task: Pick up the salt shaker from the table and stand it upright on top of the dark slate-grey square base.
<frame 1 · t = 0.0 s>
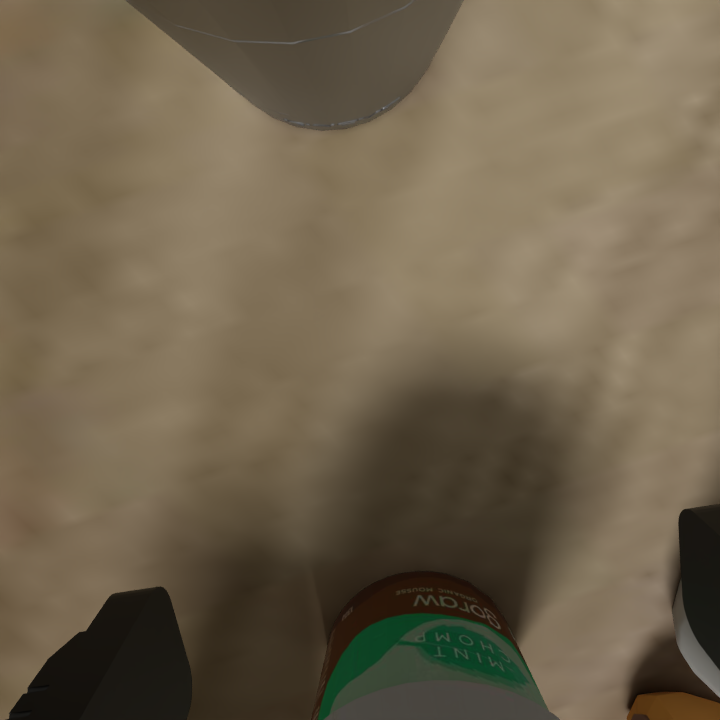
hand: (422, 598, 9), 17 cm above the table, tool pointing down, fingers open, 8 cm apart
food container: (426, 601, 30), on the table
salt shaker: (712, 595, 29), on the table
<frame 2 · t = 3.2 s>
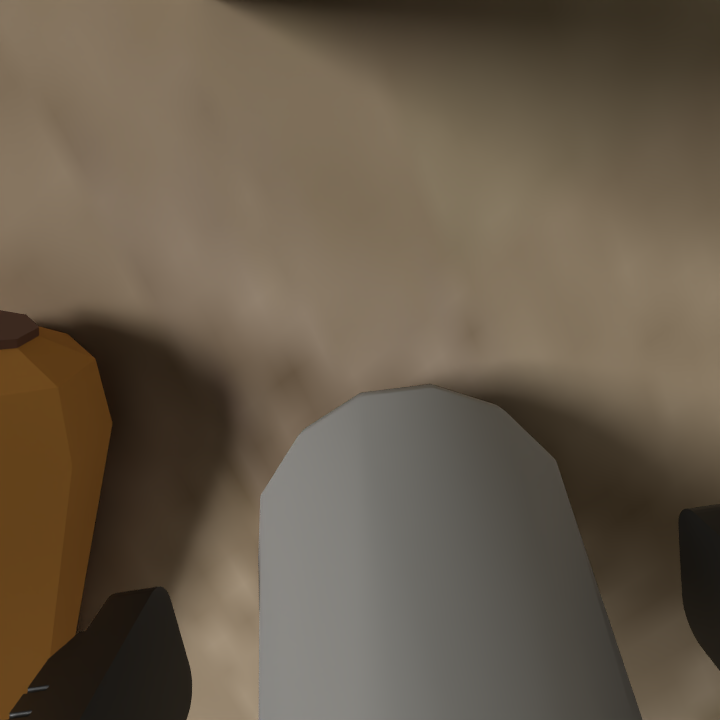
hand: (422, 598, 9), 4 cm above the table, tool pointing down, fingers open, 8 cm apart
salt shaker: (406, 478, 13), on the table
carrot: (15, 678, 15), on the table
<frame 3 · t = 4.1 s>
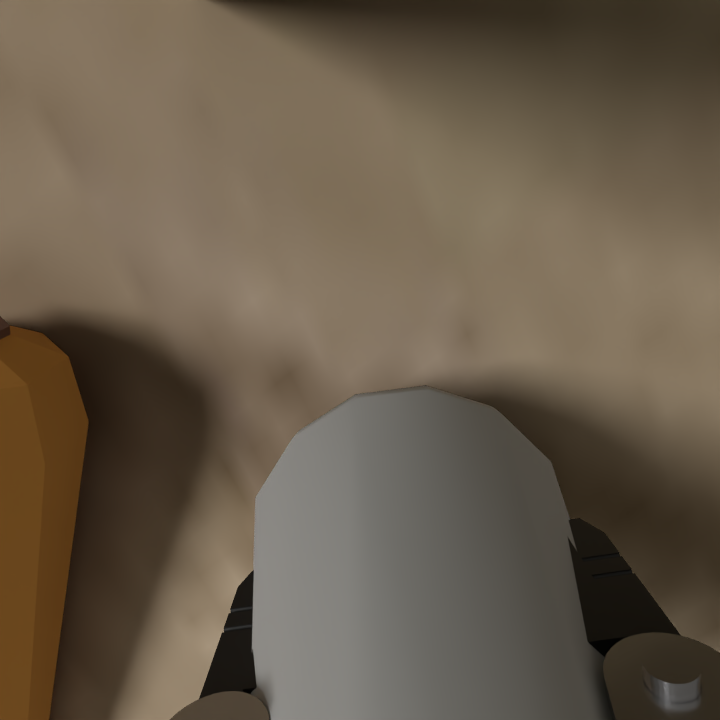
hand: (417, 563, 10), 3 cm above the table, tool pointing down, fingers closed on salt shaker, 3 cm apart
salt shaker: (402, 480, 13), on the table, touching gripper
carrot: (4, 681, 15), on the table
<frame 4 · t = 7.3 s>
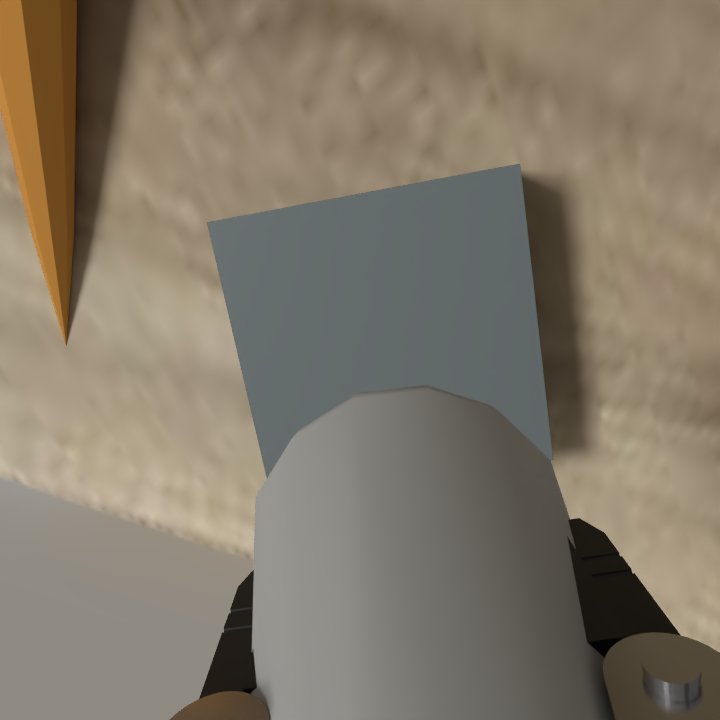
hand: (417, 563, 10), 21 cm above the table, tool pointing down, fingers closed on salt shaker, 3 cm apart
base plinth: (385, 334, 31), on the table
salt shaker: (402, 479, 13), point 18 cm above the table, touching gripper
carrot: (51, 145, 29), on the table
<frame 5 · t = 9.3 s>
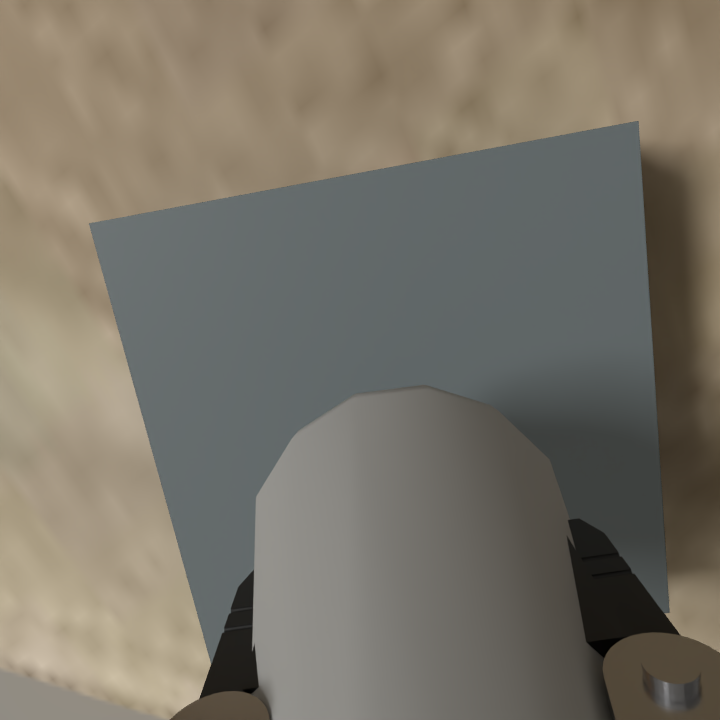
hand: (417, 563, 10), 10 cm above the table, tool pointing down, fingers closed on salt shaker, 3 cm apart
base plinth: (396, 399, 19), on the table
salt shaker: (402, 479, 14), point 6 cm above the table, touching gripper
when the fingers open (8 cm above the table, at t = 10.5 s): salt shaker drops 1 cm, resting on base plinth.
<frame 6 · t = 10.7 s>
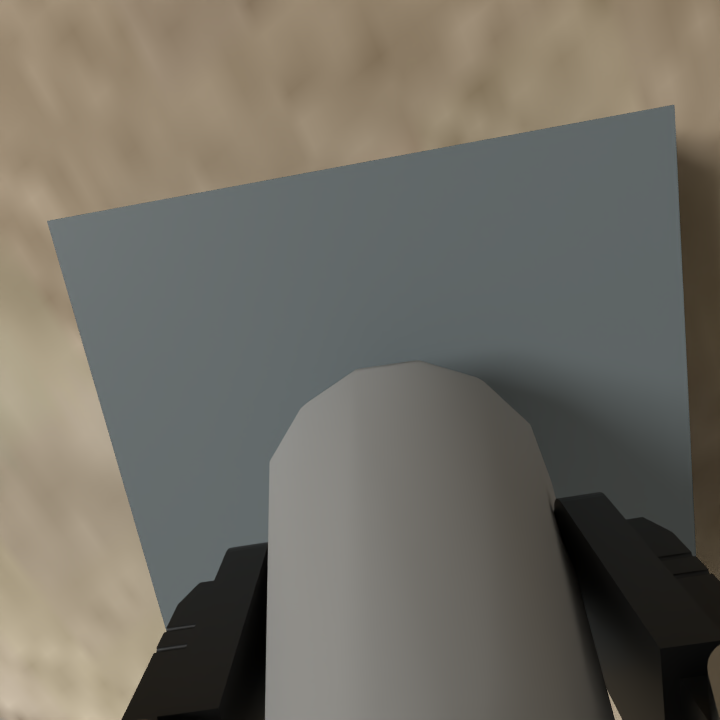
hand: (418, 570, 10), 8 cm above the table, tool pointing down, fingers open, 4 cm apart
base plinth: (396, 417, 18), on the table
salt shaker: (402, 453, 15), point 3 cm above the table, touching base plinth
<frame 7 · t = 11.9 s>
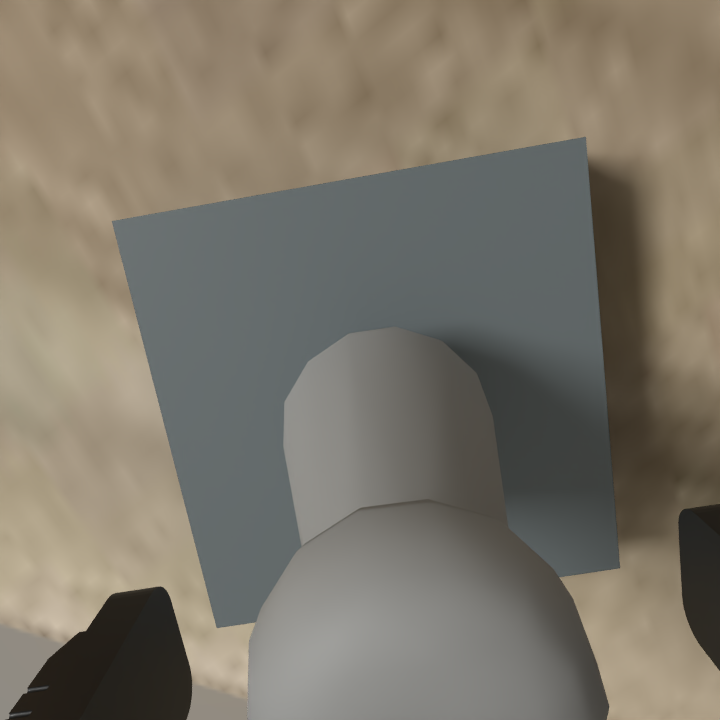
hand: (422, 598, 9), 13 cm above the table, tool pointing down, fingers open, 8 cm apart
base plinth: (380, 381, 22), on the table
salt shaker: (383, 402, 19), point 3 cm above the table, touching base plinth
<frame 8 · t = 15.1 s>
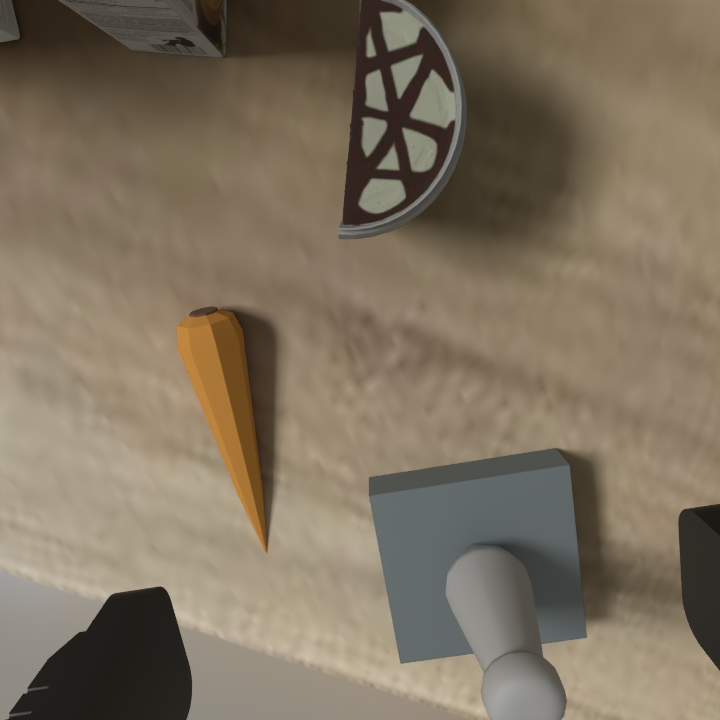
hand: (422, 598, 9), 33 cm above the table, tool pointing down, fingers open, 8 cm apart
food container: (399, 143, 39), on the table
base plinth: (473, 546, 46), on the table
salt shaker: (481, 566, 43), point 3 cm above the table, touching base plinth
carrot: (237, 435, 45), on the table
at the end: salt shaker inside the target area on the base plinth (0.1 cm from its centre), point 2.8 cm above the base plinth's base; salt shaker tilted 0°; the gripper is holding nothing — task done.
